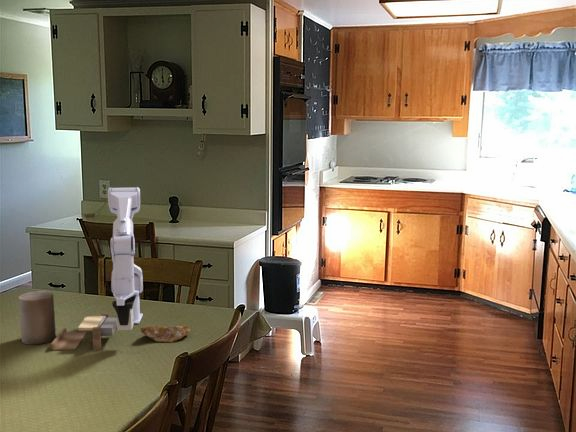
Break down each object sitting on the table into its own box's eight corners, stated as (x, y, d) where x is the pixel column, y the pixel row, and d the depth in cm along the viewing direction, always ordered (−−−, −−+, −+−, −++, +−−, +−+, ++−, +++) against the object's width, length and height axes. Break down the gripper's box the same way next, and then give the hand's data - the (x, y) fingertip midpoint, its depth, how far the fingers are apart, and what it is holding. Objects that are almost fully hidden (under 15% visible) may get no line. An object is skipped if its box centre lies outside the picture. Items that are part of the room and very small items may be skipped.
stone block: (119, 325, 185) (119, 309, 184) (133, 325, 185) (133, 308, 185) (117, 330, 181) (116, 313, 180) (131, 329, 182) (131, 313, 181)
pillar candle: (63, 336, 192) (60, 288, 190) (38, 346, 183) (35, 296, 181) (39, 332, 196) (36, 285, 194) (13, 342, 187) (10, 292, 185)
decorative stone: (140, 319, 194) (189, 320, 198) (139, 332, 194) (187, 334, 199) (141, 328, 185) (192, 330, 189) (140, 343, 185) (191, 344, 189)
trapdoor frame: (63, 333, 195) (63, 313, 194) (109, 332, 196) (109, 312, 195) (50, 350, 180) (49, 329, 179) (100, 349, 182) (99, 328, 181)
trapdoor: (86, 324, 193) (86, 315, 193) (118, 324, 194) (118, 315, 194) (78, 337, 182) (77, 327, 182) (112, 336, 183) (111, 327, 183)
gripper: (134, 283, 174) (135, 330, 176) (141, 270, 188) (142, 314, 191) (108, 283, 173) (109, 331, 176) (117, 270, 188) (118, 314, 190)
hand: (125, 322), depth 183 cm, fingers closed on stone block, 4 cm apart
